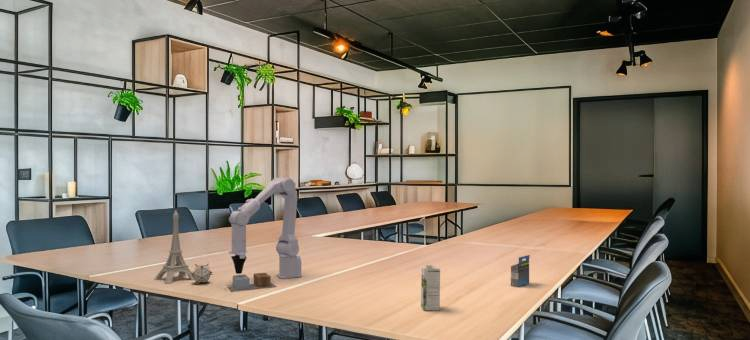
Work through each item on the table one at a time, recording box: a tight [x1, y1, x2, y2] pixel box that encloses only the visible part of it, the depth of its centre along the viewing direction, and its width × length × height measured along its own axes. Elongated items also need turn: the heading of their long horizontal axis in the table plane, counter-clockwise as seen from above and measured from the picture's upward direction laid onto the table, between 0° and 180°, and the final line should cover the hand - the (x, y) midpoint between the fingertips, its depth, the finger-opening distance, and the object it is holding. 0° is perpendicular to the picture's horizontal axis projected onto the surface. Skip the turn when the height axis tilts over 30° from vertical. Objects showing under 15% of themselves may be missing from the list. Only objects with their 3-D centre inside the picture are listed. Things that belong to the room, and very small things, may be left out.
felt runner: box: [226, 282, 277, 292], centre depth 206 cm, size 18×8×1 cm, turn 117°
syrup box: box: [420, 264, 441, 311], centre depth 176 cm, size 6×6×14 cm
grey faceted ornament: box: [191, 263, 213, 285], centre depth 212 cm, size 9×8×10 cm
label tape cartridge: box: [510, 254, 530, 288], centre depth 211 cm, size 9×4×12 cm, turn 134°
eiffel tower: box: [153, 209, 195, 285], centre depth 220 cm, size 13×13×30 cm
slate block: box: [232, 274, 251, 290], centre depth 205 cm, size 5×4×8 cm
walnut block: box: [253, 272, 272, 287], centre depth 209 cm, size 5×4×8 cm
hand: (238, 273), depth 209 cm, fingers closed
